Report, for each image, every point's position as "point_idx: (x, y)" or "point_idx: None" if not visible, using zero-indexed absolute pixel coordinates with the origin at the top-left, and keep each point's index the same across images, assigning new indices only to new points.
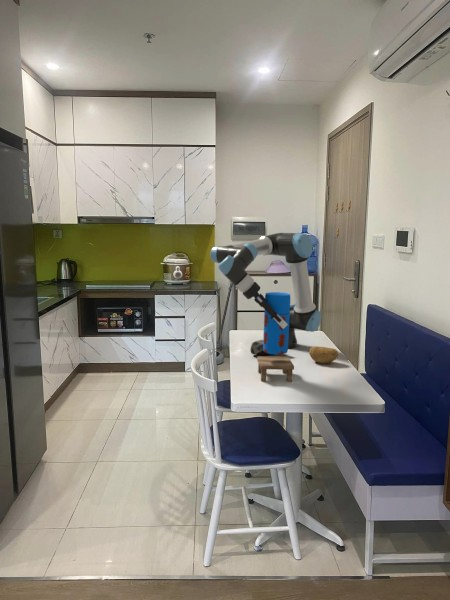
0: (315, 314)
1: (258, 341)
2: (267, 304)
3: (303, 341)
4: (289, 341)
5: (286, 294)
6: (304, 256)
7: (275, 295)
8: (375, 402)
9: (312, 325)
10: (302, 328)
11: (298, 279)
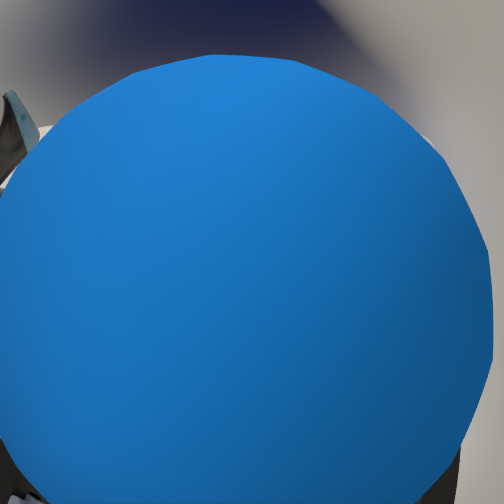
0: (17, 102)
1: None
2: (452, 488)
3: (9, 175)
4: None
5: (253, 104)
6: None
7: (460, 420)
8: (428, 142)
9: (35, 128)
10: (19, 161)
11: None
